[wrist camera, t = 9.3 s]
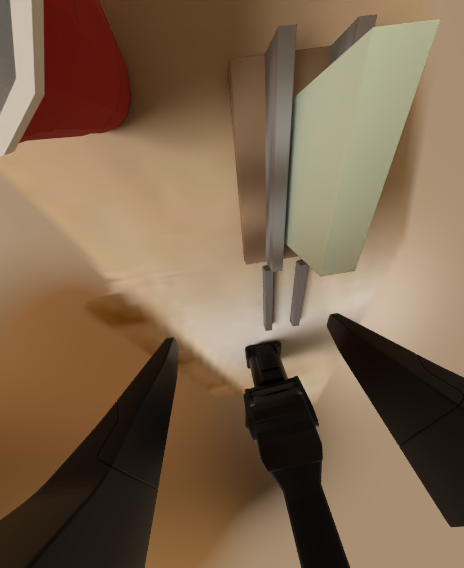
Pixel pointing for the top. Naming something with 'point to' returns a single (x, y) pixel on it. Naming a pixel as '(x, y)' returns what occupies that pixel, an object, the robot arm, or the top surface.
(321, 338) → the top surface
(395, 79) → the door panel
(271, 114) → the track plinth
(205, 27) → the top surface
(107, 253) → the top surface
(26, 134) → the plastic cup
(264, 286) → the grey upright bracket
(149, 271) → the top surface
